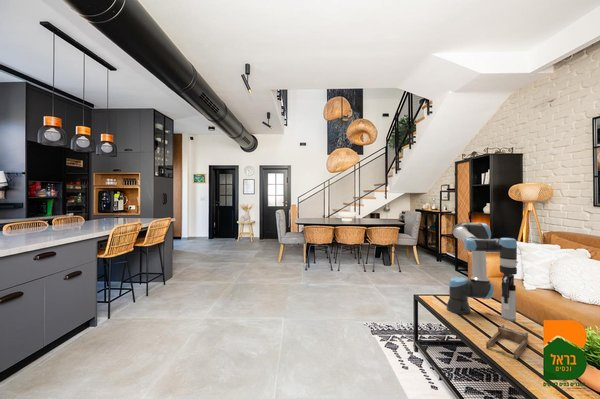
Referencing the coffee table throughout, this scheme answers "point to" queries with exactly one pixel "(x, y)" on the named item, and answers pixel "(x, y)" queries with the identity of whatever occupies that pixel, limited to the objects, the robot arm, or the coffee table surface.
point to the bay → (511, 336)
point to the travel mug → (510, 314)
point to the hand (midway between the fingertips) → (508, 307)
